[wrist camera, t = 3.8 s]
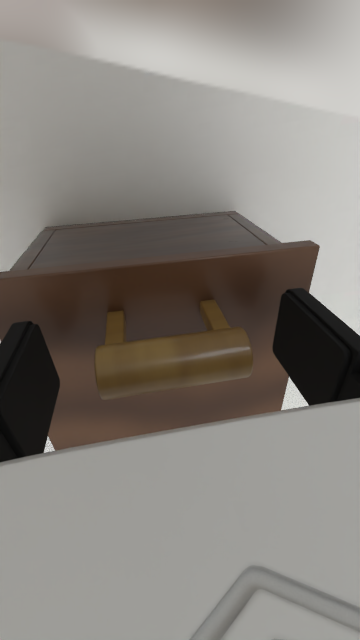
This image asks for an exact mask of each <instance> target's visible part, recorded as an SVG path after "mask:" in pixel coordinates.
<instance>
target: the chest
mask: <svg viewBox="0 0 360 640" xmlns="http://www.w3.org/2000/svg"><path fill="white" fill-rule="evenodd" d="M279 243H281V242H280V241H278V240H277V239H275V238H274V237H272V236H271V235H269V234H268V233H266V232H265V231H264V230H262V229H261V228H259V227H258V226H256V225H255V224H253V223H252V222H250V221H249V220H248V219H246V218H245V217H243V216H242V215H240V214H239V213H237V212H236V211H230V212H218V213H206V214H195V215H183V216H172V217H160V218H149V219H137V220H125V221H114V222H102V223H91V224H79V225H68V226H56V227H45V228H44V229H43V231H42V232H41V233H40V234H39V235H38V236H37V238H36V239H35V240H34V241H33V242H32V244H31V245H30V246H29V247H28V249H27V250H26V251H25V252H24V253H23V255H22V256H21V257H20V258H19V260H18V261H17V262H16V263H15V264H14V266H13V267H12V268H11V269H10V270H9V271H15V270H25V269H35V268H44V267H54V266H64V265H74V264H83V263H93V262H103V261H113V260H123V259H132V258H142V257H152V256H162V255H171V254H181V253H191V252H201V251H211V250H220V249H230V248H240V247H250V246H259V245H269V244H279Z"/></svg>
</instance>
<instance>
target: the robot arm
mask: <svg viewBox="0 0 360 640" xmlns="http://www.w3.org/2000/svg"><path fill="white" fill-rule="evenodd" d="M272 349H273V353H274V355H275V357H276V358H277V360H278V361H279V362H280V364H281V365H282V367H283V368H284V370H285V371H286V373H287V374H288V375H289V377H290V378H291V380H292V381H293V383H294V384H295V386H296V387H297V388H298V390H299V391H300V393H301V394H302V396H303V397H304V399H305V400H306V401H307V403H308V404H309V406H305V407H299V408H293V409H287V410H281V411H275V412H269V413H264V414H258V415H252V416H246V417H240V418H234V419H229V420H223V421H217V422H211V423H206V424H200V425H194V426H189V427H183V428H177V429H172V430H166V431H160V432H155V433H149V434H143V435H138V436H132V437H127V438H121V439H116V440H110V441H105V442H99V443H94V444H88V445H83V446H77V447H72V448H67V449H62V450H57V451H52V452H47V453H44V449H45V445H46V441H47V436H48V432H49V428H50V424H51V420H52V416H53V412H54V408H55V404H56V400H57V396H58V392H59V388H60V379H59V376H58V373H57V371H56V368H55V365H54V363H53V360H52V358H51V355H50V352H49V350H48V347H47V345H46V342H45V339H44V337H43V334H42V332H41V329H40V327H39V325H38V324H33V322H32V321H24V322H16V323H13V324H12V325H11V327H10V328H9V330H8V332H7V334H6V335H5V337H4V339H3V340H2V342H1V344H0V640H360V336H359V335H358V334H357V333H356V332H355V331H353V330H352V329H351V328H350V327H349V326H347V325H346V324H345V323H344V322H343V321H342V320H340V319H339V318H338V317H337V316H336V315H334V314H333V313H332V312H331V311H330V310H329V309H327V308H326V307H325V306H324V305H323V304H321V303H320V302H319V301H318V300H317V299H316V298H314V297H313V296H312V295H311V294H310V293H308V292H307V291H306V290H305V289H304V288H294V289H287V290H286V292H285V293H283V294H282V295H281V300H280V306H279V311H278V317H277V323H276V328H275V334H274V340H273V346H272Z"/></svg>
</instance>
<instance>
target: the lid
mask: <svg viewBox="0 0 360 640" xmlns="http://www.w3.org/2000/svg"><path fill="white" fill-rule="evenodd" d="M318 251H319V245H317V244H316V243H314V242H312V241H310V240H308V241H299V242H289V243H279V244H269V245H259V246H250V247H240V248H230V249H220V250H211V251H201V252H191V253H181V254H171V255H162V256H152V257H142V258H132V259H123V260H113V261H103V262H93V263H83V264H74V265H64V266H54V267H44V268H35V269H25V270H15V271H5V272H0V340H1V342H2V340H3V339H4V337H5V335H6V334H7V332H8V330H9V328H10V327H11V325H12V324H13V323H16V322H24V321H32V322H33V324H38V325H39V327H40V329H41V332H42V334H43V337H44V339H45V342H46V345H47V347H48V350H49V352H50V355H51V358H52V360H53V363H54V365H55V368H56V371H57V373H58V376H59V379H60V388H59V392H58V396H57V400H56V404H55V408H54V412H53V416H52V420H51V424H50V428H49V432H48V437H49V439H50V441H51V443H52V445H53V447H54V449H55V451H57V450H62V449H67V448H72V447H77V446H83V445H88V444H94V443H99V442H105V441H110V440H116V439H121V438H127V437H132V436H138V435H143V434H149V433H155V432H160V431H166V430H172V429H177V428H183V427H189V426H194V425H200V424H206V423H211V422H217V421H223V420H229V419H234V418H240V417H246V416H252V415H258V414H264V413H269V412H275V411H281V408H282V403H283V399H284V395H285V391H286V386H287V382H288V378H289V375H288V374H287V373H286V371H285V370H284V368H283V367H282V365H281V364H280V362H279V361H278V360H277V358H276V357H275V355H274V353H273V349H272V346H273V340H274V334H275V328H276V323H277V317H278V311H279V306H280V300H281V295H282V294H283V293H285V292H286V290H287V289H294V288H304V289H305V290H306V291H307V292H308V293H309V289H310V285H311V281H312V277H313V273H314V268H315V264H316V260H317V256H318Z"/></svg>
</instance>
